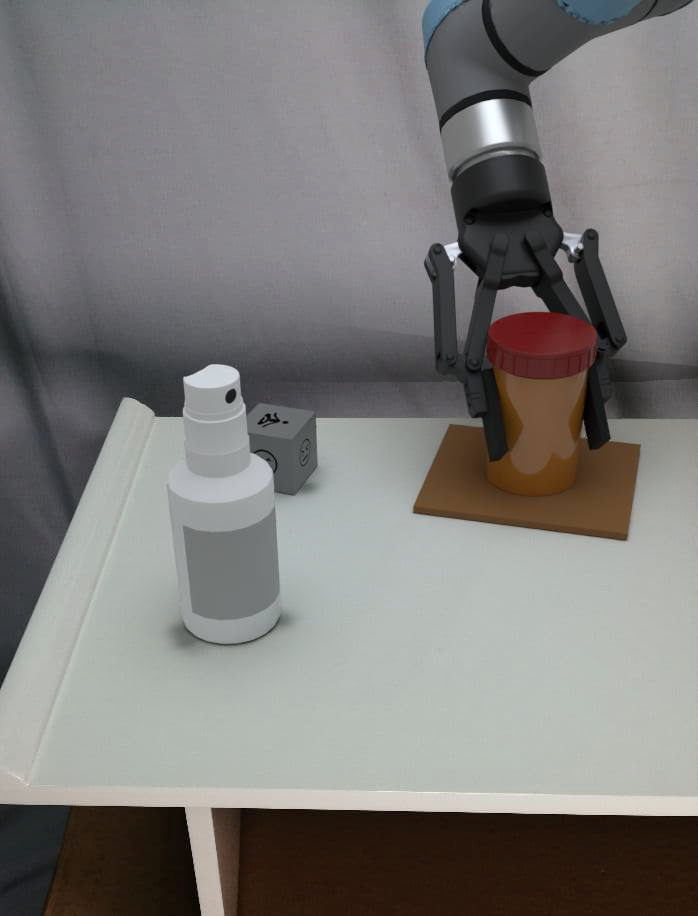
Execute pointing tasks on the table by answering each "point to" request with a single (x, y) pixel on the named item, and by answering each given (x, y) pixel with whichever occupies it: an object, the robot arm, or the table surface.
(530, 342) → the lid
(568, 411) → the jar
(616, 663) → the table surface
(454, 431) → the mat
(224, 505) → the spray bottle
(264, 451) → the gray cube
